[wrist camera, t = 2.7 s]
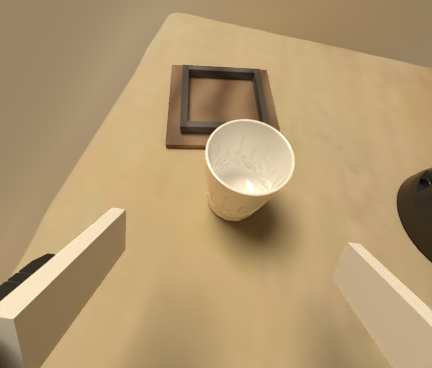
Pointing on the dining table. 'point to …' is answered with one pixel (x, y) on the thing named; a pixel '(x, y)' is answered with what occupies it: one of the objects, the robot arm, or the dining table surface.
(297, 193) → the dining table surface
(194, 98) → the dock board
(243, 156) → the white cup
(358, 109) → the dining table surface
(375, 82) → the dining table surface
